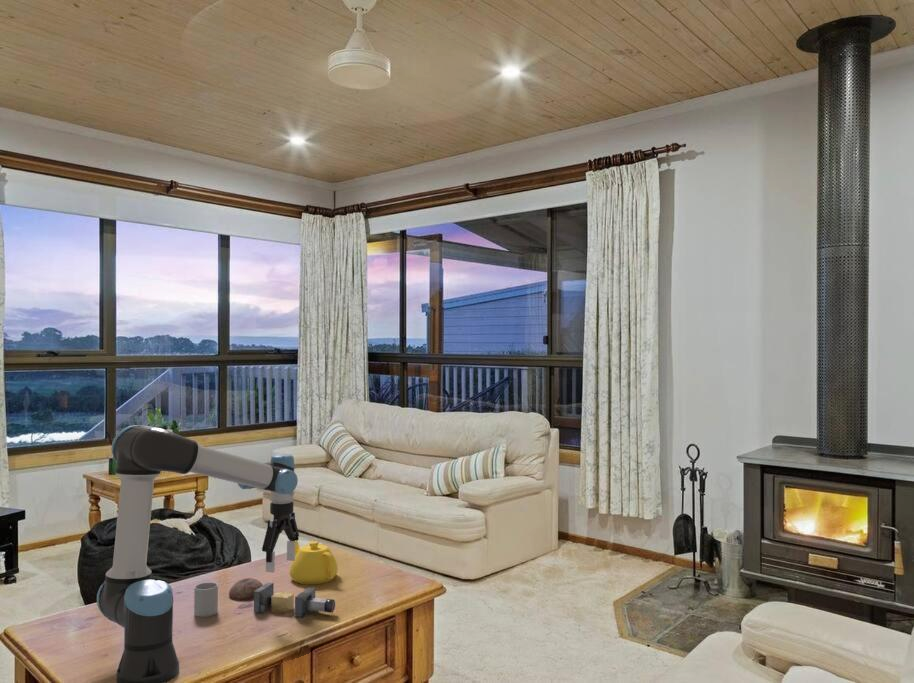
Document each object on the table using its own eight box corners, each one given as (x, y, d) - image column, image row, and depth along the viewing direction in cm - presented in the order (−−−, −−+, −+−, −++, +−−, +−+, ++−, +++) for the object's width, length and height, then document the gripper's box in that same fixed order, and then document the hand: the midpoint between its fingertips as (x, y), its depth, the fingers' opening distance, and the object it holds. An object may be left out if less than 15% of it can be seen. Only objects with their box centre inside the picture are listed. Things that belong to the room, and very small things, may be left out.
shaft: (335, 610, 225) (335, 597, 225) (329, 614, 221) (330, 602, 221) (302, 606, 228) (302, 594, 228) (296, 611, 224) (296, 598, 225)
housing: (315, 607, 230) (315, 586, 230) (302, 618, 221) (302, 596, 221) (268, 602, 235) (268, 582, 235) (253, 612, 225) (253, 591, 226)
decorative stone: (222, 599, 238) (222, 583, 239) (240, 588, 250) (240, 573, 250) (253, 602, 236) (253, 586, 236) (270, 590, 248) (270, 575, 248)
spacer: (287, 613, 225) (287, 597, 226) (271, 611, 227) (271, 596, 227) (293, 609, 229) (293, 593, 229) (277, 607, 231) (277, 592, 231)
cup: (197, 619, 220) (197, 591, 220) (189, 609, 228) (189, 582, 228) (220, 614, 224) (220, 586, 225) (211, 605, 232) (211, 578, 233)
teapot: (272, 576, 262) (272, 540, 263) (309, 565, 276) (309, 531, 276) (314, 591, 247) (314, 552, 247) (351, 578, 260) (351, 542, 261)
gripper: (272, 509, 216) (271, 578, 215) (309, 495, 240) (308, 556, 239) (251, 508, 218) (250, 575, 217) (290, 494, 242) (289, 554, 241)
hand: (280, 566), depth 228 cm, fingers open, 13 cm apart
